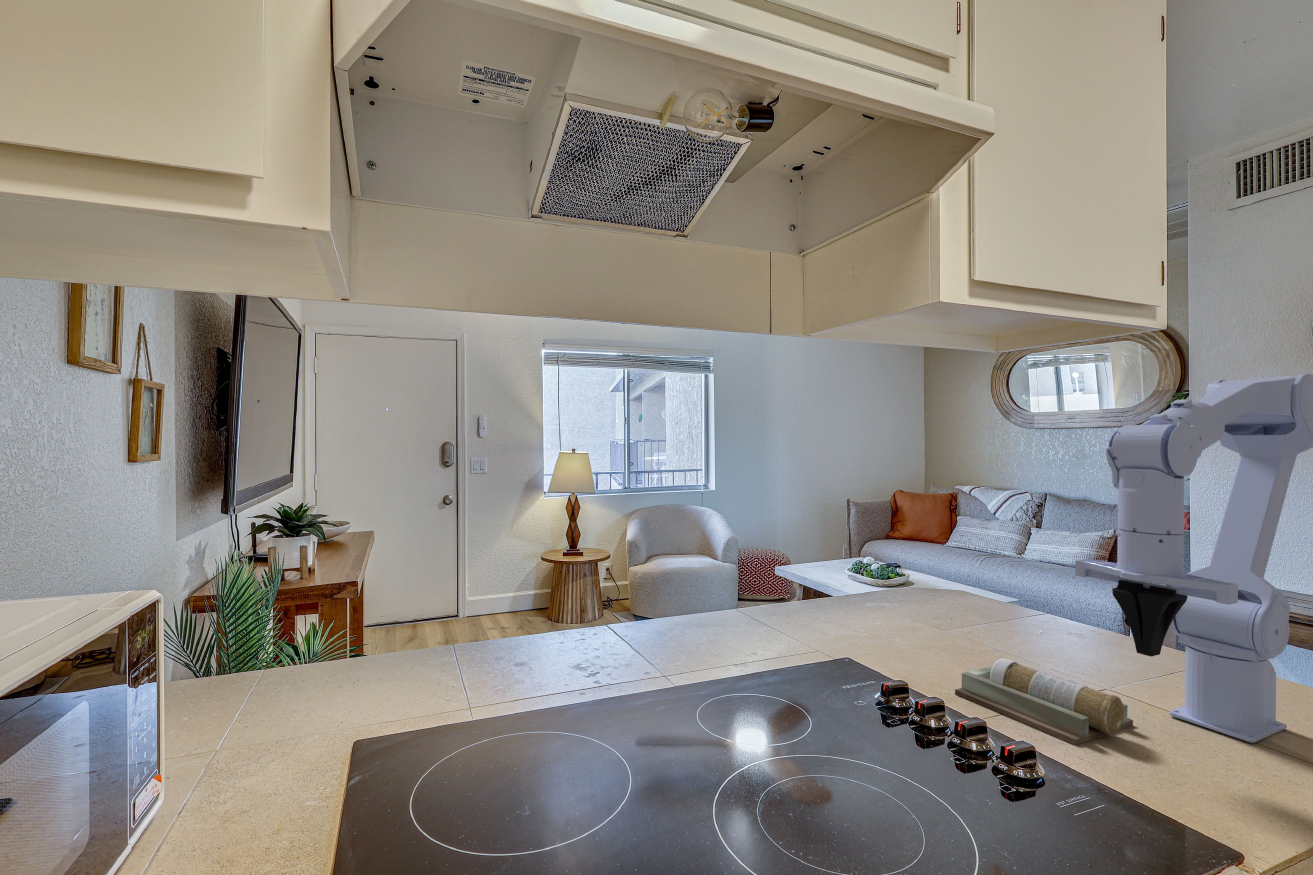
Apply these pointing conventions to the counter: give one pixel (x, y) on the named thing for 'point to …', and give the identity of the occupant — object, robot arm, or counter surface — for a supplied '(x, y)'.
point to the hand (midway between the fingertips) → (1148, 653)
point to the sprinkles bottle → (1062, 694)
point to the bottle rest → (1029, 708)
